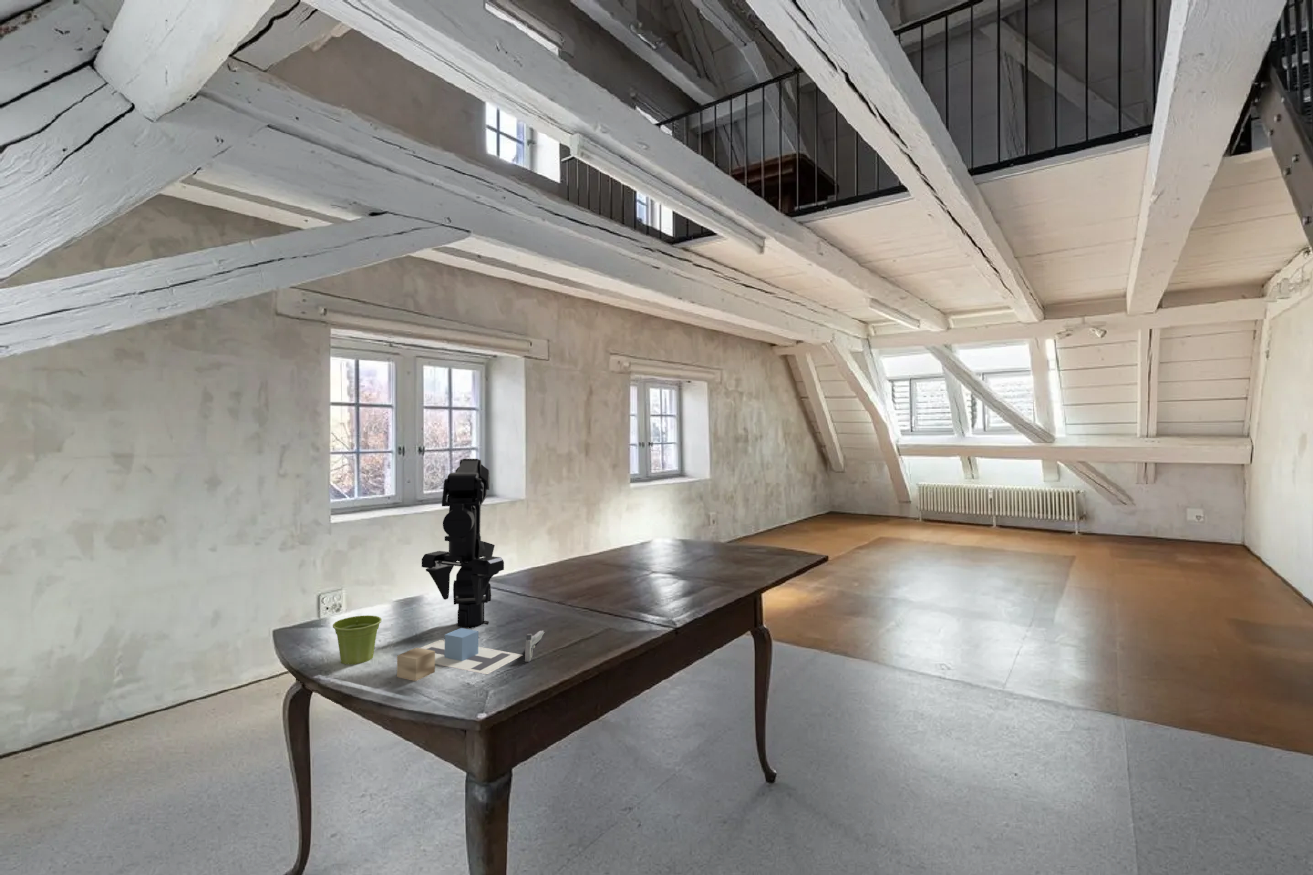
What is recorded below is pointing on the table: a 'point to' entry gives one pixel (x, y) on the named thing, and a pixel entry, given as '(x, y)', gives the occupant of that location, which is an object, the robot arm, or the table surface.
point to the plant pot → (357, 638)
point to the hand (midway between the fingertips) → (462, 601)
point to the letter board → (473, 658)
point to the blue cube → (461, 644)
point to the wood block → (415, 664)
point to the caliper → (531, 644)
